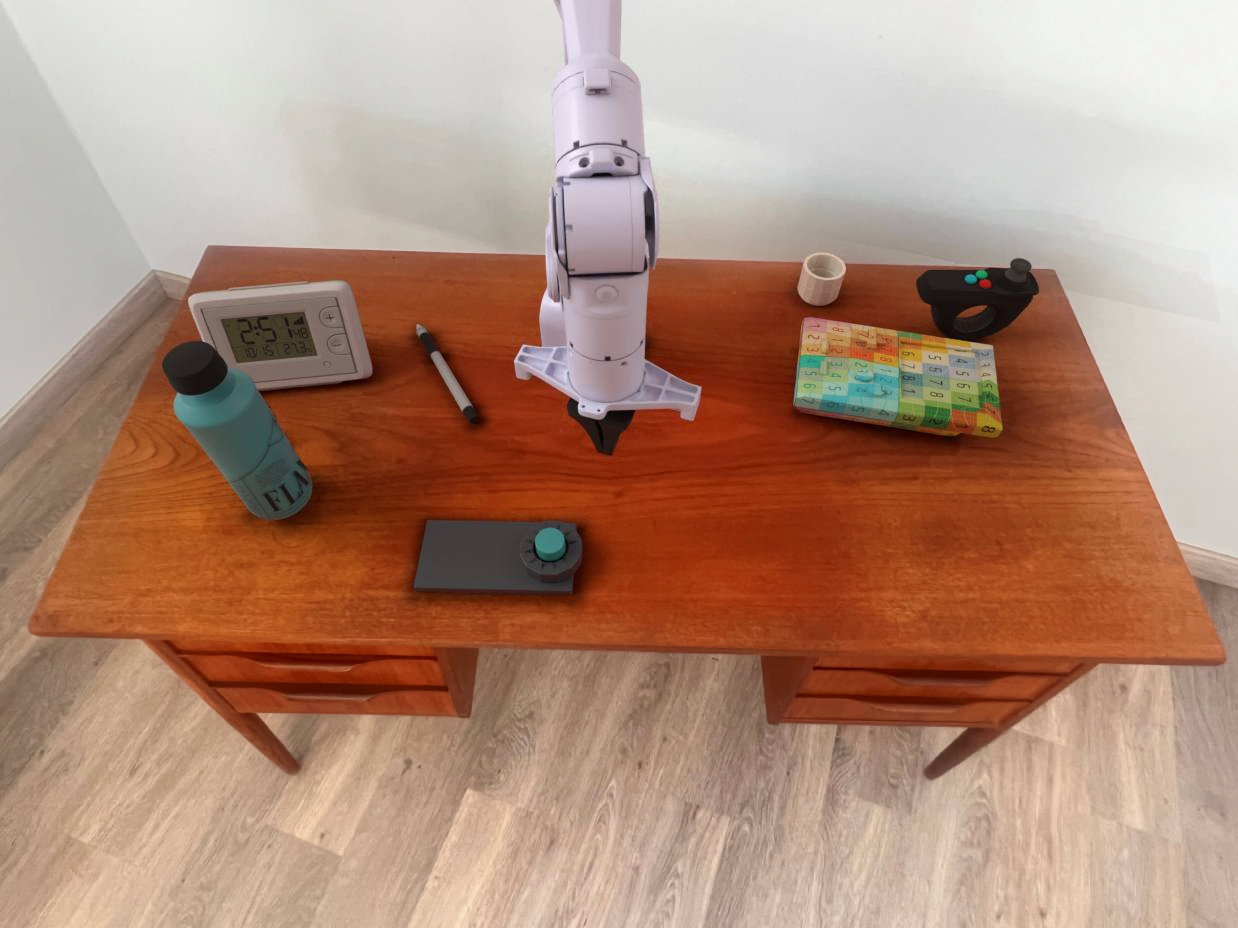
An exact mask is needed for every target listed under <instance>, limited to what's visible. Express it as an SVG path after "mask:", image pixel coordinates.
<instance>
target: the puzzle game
mask: <svg viewBox="0 0 1238 928" xmlns="http://www.w3.org/2000/svg"><path fill="white" fill-rule="evenodd" d="M994 349H995V348H994V345H993V344H986V343H979V342H973V341H968V340H957V339H953V338H949V337H948V338H947V337H940V336H935V335H929V334H921V333H915V332H908V331H902V330H896V329H889V328H884V327H883V328H882V327H876V326H871V325H865V324H864V325H863V324H857V323H850V322H844V321H838V320H831V319H825V318H817V317H812V316H811V317H803V318H802V322H801V325H800V334H799V343H798V356H797V365H796V376H795V387H794V396H793V407H794V408H795V409H796V410H797V411H799V413H801V414H802V413H803V414H807V415H815V416H821V417H827V418H832V419H839V420H846V421H851V422H857V423H863V424H869V425H876V426H883V427H888V428H895V429H902V430H908V431H914V432H919V433H924V434H925V433H926V434H933V435H938V436H946V437H950V436H951V437H956V436H958V435H960V434H966V435H972V436H977V437H982V438H987V439H988V438H990V439H991V438H992V439H993V438H999V437H1000V436H1001V434H1002V433H1003V431H1004V427H1003V419H1002V411H1001V400H1000V393H999V385H998V384H999V383H998V375H997V366H996V358H995V350H994Z"/></svg>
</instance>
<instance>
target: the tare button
mask: <svg viewBox="0 0 1238 928" xmlns="http://www.w3.org/2000/svg"><path fill="white" fill-rule="evenodd" d="M535 545H536V551H537V554H538V556H539V557H540V558H541V559H543V560H545V561H556V560H558V559H560V558H561V557H562V556H563V554H564V553H565V549H566V547H565V538H564V535H563V534H562V532H561V531H559V530H558V529H555V528H546V529H543V530H541V531H540V532H539V533H538V534H537V536H536V538H535Z"/></svg>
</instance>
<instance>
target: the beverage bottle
mask: <svg viewBox="0 0 1238 928" xmlns="http://www.w3.org/2000/svg"><path fill="white" fill-rule="evenodd" d="M161 368H162V371H163V373H164V375H165V376H166V378H167V380H168V383H169V385H170V386H171V388H172V389H173V390H174V391H175V392H176V394H175V398H174V400H173V412H174V414H175V416H176V418H177V419H178V420H179V422H180V423H181V424H182V425H184V427H185V429H186V430H188V432H189V433H190V435H191V436H192V437H193V439H194V440H195V441H196V443H198V445H199V446H200V447H201V449H202V450H203V451H204V453H205V454H206V455H207V456H208V458H209V459H210V460H211V461H212V463H213V464H214V465H215V467H216V469H217V470H218V471H219V473H220V474H221V475H222V477H223V478H224V479H225V481H226V482H227V484H228V485H229V486H230V488H231V489H232V491H233V492H234V493H235V495H236V496H237V497H238V498H239V500H240V501H241V502H242V504H243V505H244V507H245V508H246V509H247V510H248V512H249V513H250V514H251V515H252V516H254V517H256V518H260V519H262V520H268V521H278V520H283V519H287V518H290V517H291V516H294V515H296V514H297V513H298V512H301V510H302V509H303V508H304V507H305V506H306V505H307V504H308V502H309V500H310V499H311V497H312V493H313V485H314V481H313V478H312V474H310V473H311V472H310V470H309V469H308V467H307V466H306V465H305V464H304V460H302V456H300V454H299V452H298V451H296V447H295V445H294V444H293V443H292V442H291V441H290V440H291V438H290V437H289V436H287V431H284V428H283V426H281V424H280V422H281V421H280V420H279V418H278V417H277V415H276V413H275V411H274V410H273V409H272V408H271V405H270V404H269V403H267V401H266V399H264V397H263V396H264V393H260V391H259V390H258V389H257V388H256V386H255V383H254V381H253V380H252V378H251V377H250V376H249V375H248V374H246V373H245V372H243V371H241V370H238V369H234V368H228V367H227V364H226V362H225V361H224V359H223V358H222V357H221V356H220V355H219V354H218V352H217V351H216V350H215V348H214V347H213V346H211V345H210V344H208V343H206V342H203V341H202V340H191V341H190V340H189V341H185V342H183V343H180V344H178V345H176V346H175V347H173V348H172V349H170V350H169V351H168V352H167V353H166V354H165V356H164V357H163V359H162V362H161Z"/></svg>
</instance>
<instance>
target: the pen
mask: <svg viewBox="0 0 1238 928" xmlns="http://www.w3.org/2000/svg"><path fill="white" fill-rule="evenodd" d="M415 334H416V336H418V339H419V341H421V343H422V345H423V347H424V348H425V350H426V352H427V353H428V356H429V357H430V358H431V360H432V361H433V363H434V365H435V367H436V368H437V370H438V372H439V374H440V376H441V377H442V379H443V381H444V383H445V384H446V386H447V388H448V390H449V391H450V393H451V395H452V397H453V398H454V400H455V402H456V403H457V405H458V407H459V408H460V410H461V413H462V414H463V415H464V416H465V418H466V419H467V420H468V422H469V423H470V424H475V423H477V422H478V420H479V417H478V414H477V412H476V410H475V407H474V405H472V403H471V401H470V399H469V398H468V396H467V394H466V393H465V391H464V390H463V388H462V386H461V385H460V383H459V382H458V380H457V378H456V376H455V375H454V373H453V372H452V370H451V368H450V367H449V365H448V363H447V362H446V360H445V359H444V357H443V355H442V354H441V352H440V350H439V347H438V346H437V345H436V343H435V341H434V340H433V338H432V337H431V335H430V333H429V332H428V328H426V327H425V326H422V325H421V324H419V323H416V331H415Z"/></svg>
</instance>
